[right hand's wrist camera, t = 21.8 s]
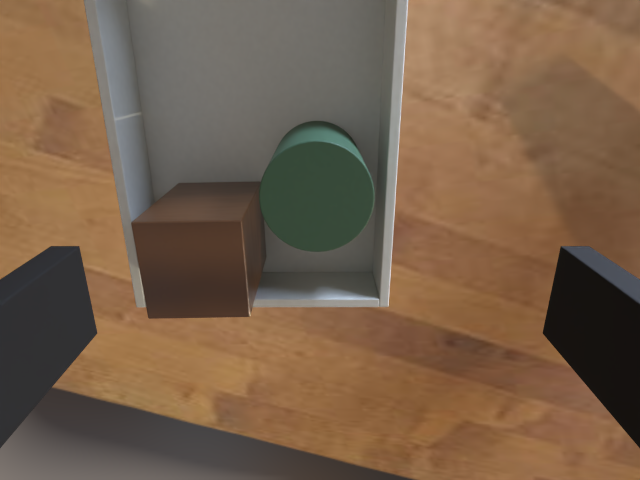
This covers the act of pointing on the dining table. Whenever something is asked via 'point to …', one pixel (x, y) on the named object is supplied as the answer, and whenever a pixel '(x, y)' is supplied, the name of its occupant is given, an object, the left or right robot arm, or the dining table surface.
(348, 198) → the dark green cylinder
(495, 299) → the dining table surface
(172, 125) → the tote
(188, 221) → the walnut block
